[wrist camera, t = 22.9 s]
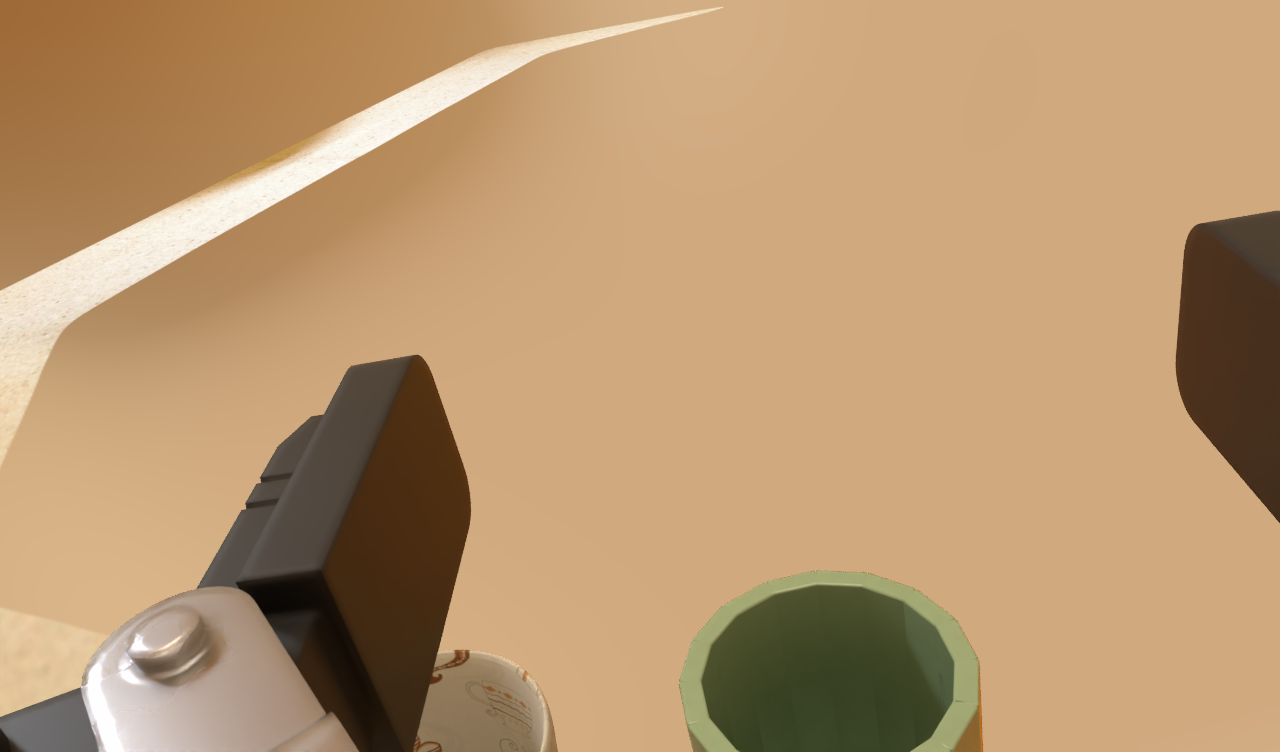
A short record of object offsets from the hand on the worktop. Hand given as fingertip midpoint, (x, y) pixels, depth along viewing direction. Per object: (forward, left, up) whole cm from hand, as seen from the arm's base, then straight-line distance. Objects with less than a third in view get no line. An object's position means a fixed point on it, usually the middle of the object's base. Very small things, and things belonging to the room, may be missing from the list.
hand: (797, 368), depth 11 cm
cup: (+3, +5, -21) cm, 22 cm away
